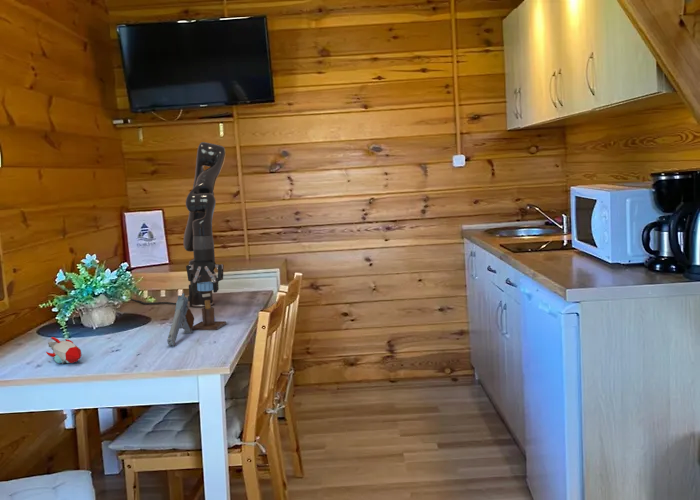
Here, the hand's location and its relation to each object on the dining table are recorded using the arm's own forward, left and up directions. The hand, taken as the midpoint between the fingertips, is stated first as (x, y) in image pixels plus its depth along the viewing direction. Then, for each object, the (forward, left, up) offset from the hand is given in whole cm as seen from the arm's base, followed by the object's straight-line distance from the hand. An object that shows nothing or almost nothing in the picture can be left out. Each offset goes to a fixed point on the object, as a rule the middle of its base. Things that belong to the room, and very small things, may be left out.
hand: (206, 292), depth 247 cm
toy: (-32, -42, -14) cm, 55 cm away
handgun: (-3, -18, -13) cm, 23 cm away
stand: (0, 0, -13) cm, 13 cm away
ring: (0, 0, +1) cm, 1 cm away
